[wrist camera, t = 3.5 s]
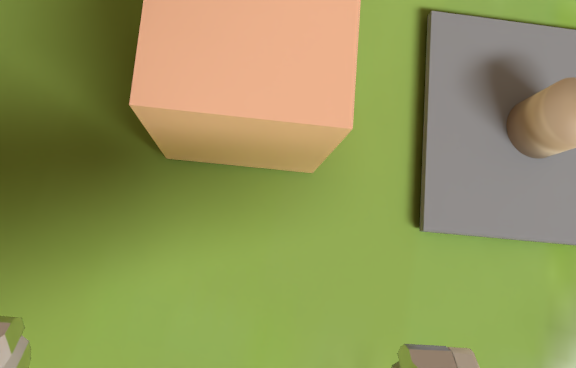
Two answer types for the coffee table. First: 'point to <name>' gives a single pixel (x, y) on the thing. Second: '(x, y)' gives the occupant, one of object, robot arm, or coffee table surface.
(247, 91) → the peach foam cube
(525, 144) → the tan rounded cylinder
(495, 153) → the mat
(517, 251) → the coffee table surface
